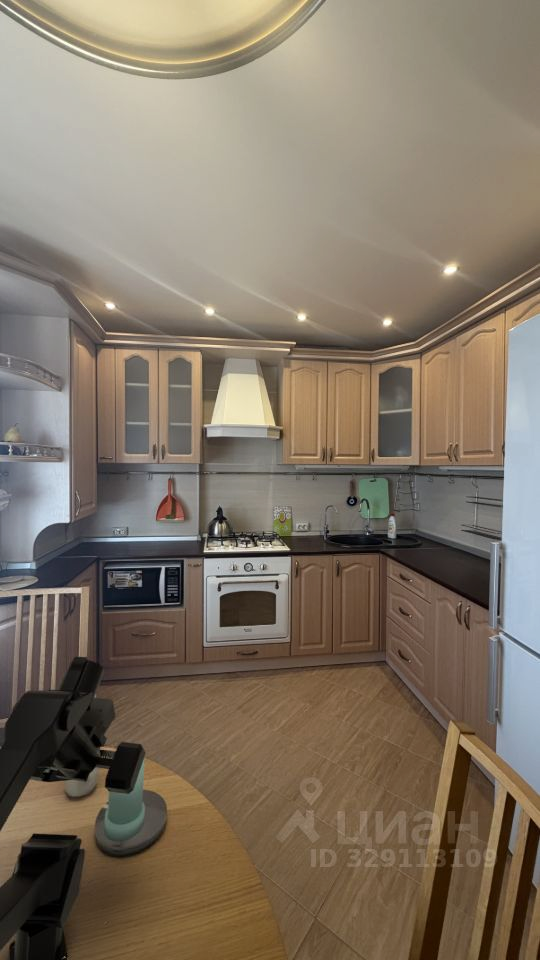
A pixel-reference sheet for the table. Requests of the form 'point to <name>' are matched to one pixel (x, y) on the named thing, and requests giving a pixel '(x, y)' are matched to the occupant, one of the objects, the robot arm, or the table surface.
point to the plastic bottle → (82, 784)
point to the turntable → (149, 831)
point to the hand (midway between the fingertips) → (100, 779)
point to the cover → (125, 812)
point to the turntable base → (129, 852)
